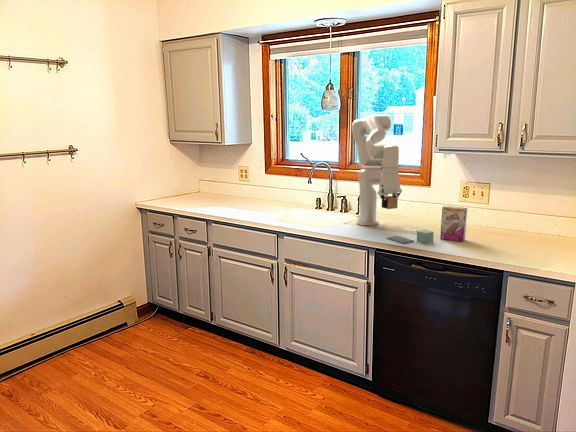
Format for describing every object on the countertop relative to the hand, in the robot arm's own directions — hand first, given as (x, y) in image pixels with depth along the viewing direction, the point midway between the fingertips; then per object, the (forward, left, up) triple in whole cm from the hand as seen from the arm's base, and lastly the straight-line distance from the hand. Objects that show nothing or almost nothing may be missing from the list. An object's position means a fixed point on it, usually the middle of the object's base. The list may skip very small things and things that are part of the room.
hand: (389, 206), depth 237 cm
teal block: (+16, +9, -16) cm, 24 cm away
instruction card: (-6, +21, -16) cm, 27 cm away
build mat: (+7, +1, -16) cm, 18 cm away
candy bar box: (+20, +24, -16) cm, 35 cm away
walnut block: (0, 0, -1) cm, 1 cm away
